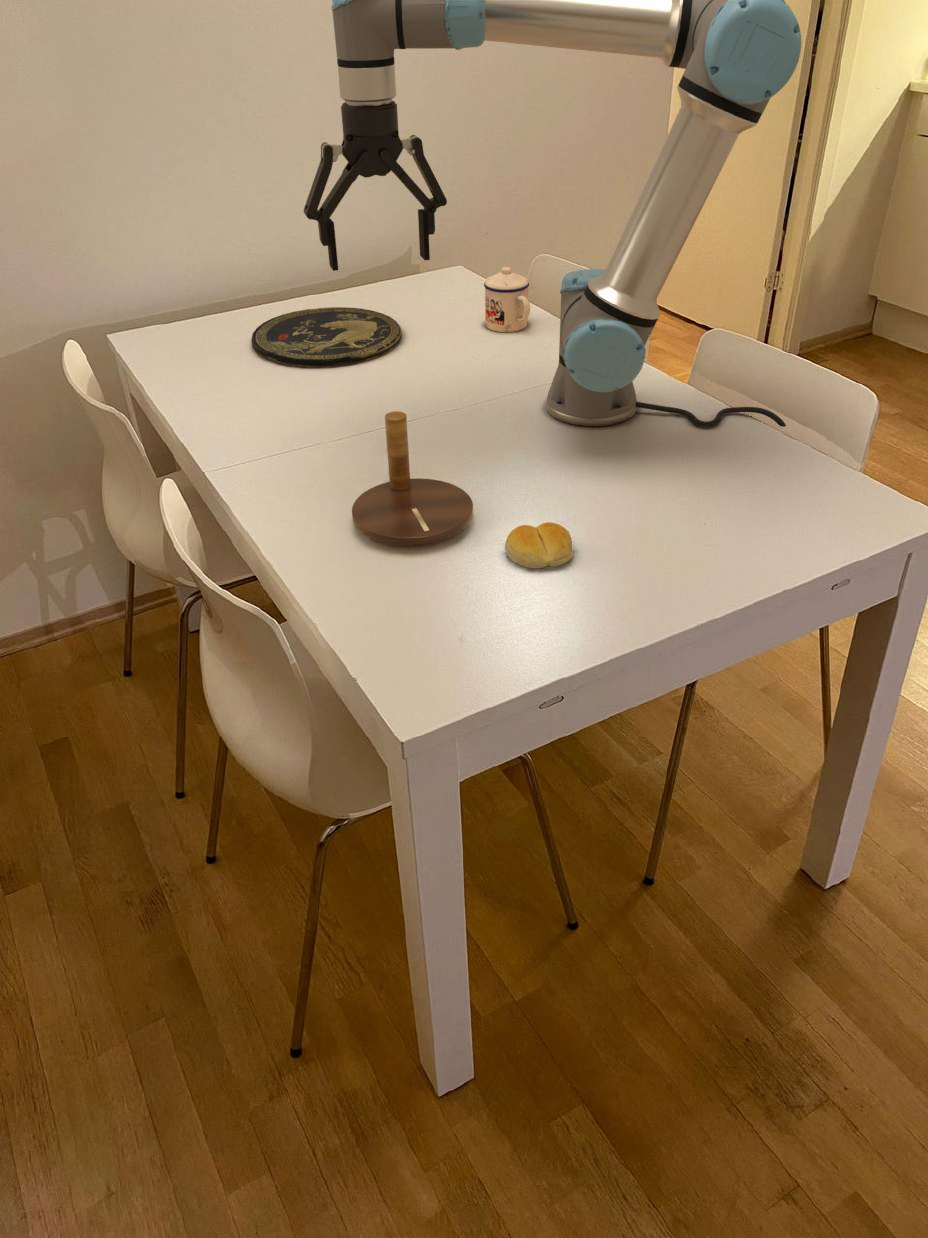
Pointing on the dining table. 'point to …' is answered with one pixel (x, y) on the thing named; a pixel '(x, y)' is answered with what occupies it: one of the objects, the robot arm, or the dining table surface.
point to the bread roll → (539, 545)
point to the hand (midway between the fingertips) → (379, 262)
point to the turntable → (409, 499)
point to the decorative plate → (326, 337)
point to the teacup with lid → (506, 301)
